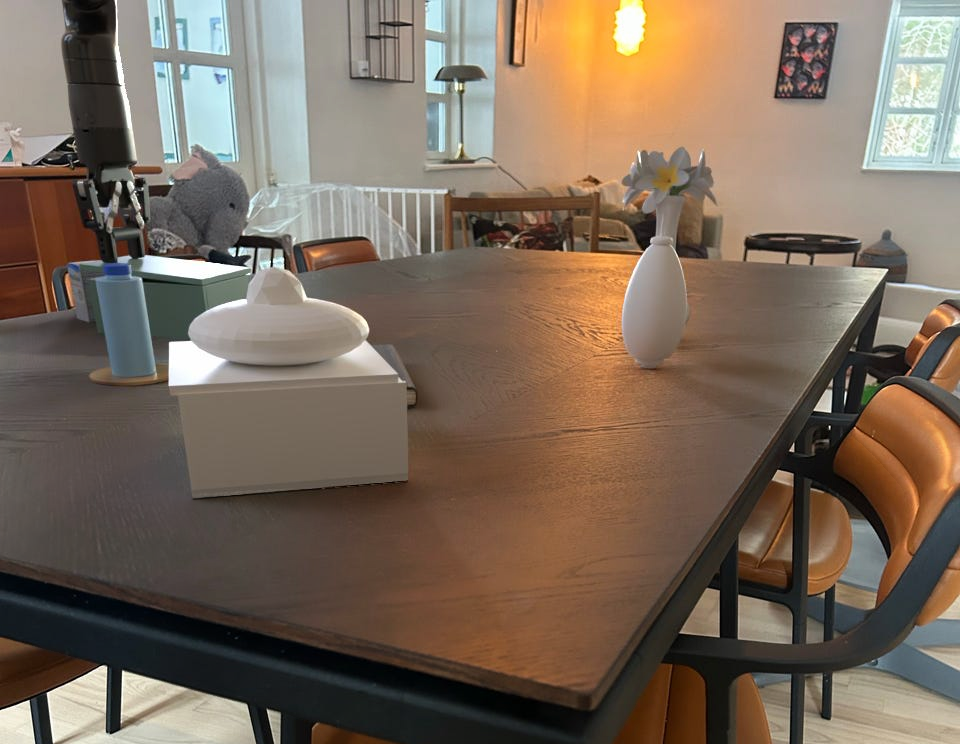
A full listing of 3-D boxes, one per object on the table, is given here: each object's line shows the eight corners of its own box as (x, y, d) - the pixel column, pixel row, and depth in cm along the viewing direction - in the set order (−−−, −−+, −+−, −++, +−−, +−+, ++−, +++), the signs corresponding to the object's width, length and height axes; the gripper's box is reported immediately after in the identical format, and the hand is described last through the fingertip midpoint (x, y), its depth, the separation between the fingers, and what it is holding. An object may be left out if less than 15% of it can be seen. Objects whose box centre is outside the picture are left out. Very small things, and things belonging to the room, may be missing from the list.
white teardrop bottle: (635, 358, 122) (649, 210, 113) (689, 365, 118) (707, 213, 109) (607, 367, 116) (619, 213, 108) (663, 376, 112) (680, 216, 104)
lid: (79, 270, 125) (74, 228, 122) (137, 259, 136) (133, 221, 134) (202, 285, 121) (199, 243, 119) (250, 273, 133) (248, 234, 130)
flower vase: (675, 325, 145) (695, 147, 133) (714, 347, 129) (741, 147, 117) (595, 325, 144) (608, 145, 132) (625, 348, 128) (642, 145, 116)
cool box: (98, 338, 129) (87, 279, 125) (152, 322, 140) (144, 268, 137) (209, 346, 125) (202, 285, 121) (256, 329, 136) (251, 274, 133)
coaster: (74, 384, 105) (73, 380, 104) (112, 365, 113) (112, 362, 113) (158, 387, 104) (157, 383, 104) (190, 368, 113) (190, 365, 112)
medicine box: (126, 317, 144) (116, 258, 139) (139, 321, 141) (130, 261, 137) (77, 323, 139) (65, 262, 135) (89, 327, 136) (78, 265, 132)
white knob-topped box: (408, 481, 76) (403, 279, 69) (185, 499, 72) (153, 285, 64) (370, 425, 91) (362, 254, 83) (183, 438, 86) (156, 257, 79)
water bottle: (104, 376, 107) (84, 266, 101) (123, 367, 111) (105, 261, 105) (145, 378, 106) (128, 267, 100) (162, 368, 111) (146, 262, 105)
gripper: (110, 125, 129) (130, 254, 137) (42, 123, 116) (68, 264, 124) (157, 126, 127) (175, 256, 135) (93, 123, 115) (116, 266, 123)
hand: (123, 259), depth 130 cm, fingers closed on lid, 6 cm apart
